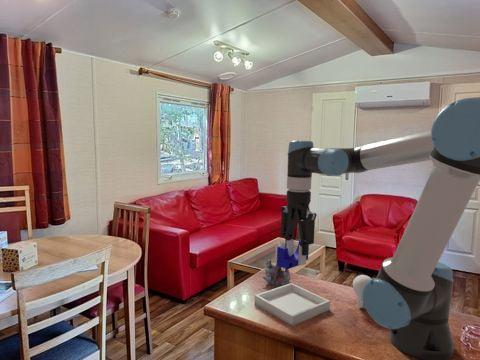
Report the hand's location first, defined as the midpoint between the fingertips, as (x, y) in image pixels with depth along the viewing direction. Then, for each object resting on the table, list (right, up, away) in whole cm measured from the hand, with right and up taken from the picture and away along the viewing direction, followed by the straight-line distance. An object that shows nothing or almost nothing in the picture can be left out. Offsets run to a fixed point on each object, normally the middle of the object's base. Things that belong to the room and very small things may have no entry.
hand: (295, 261), depth 113 cm
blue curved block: (0, 0, 0) cm, 1 cm away
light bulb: (+22, -15, +1) cm, 27 cm away
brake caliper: (-4, -13, +20) cm, 24 cm away
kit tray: (-1, -15, +1) cm, 15 cm away
